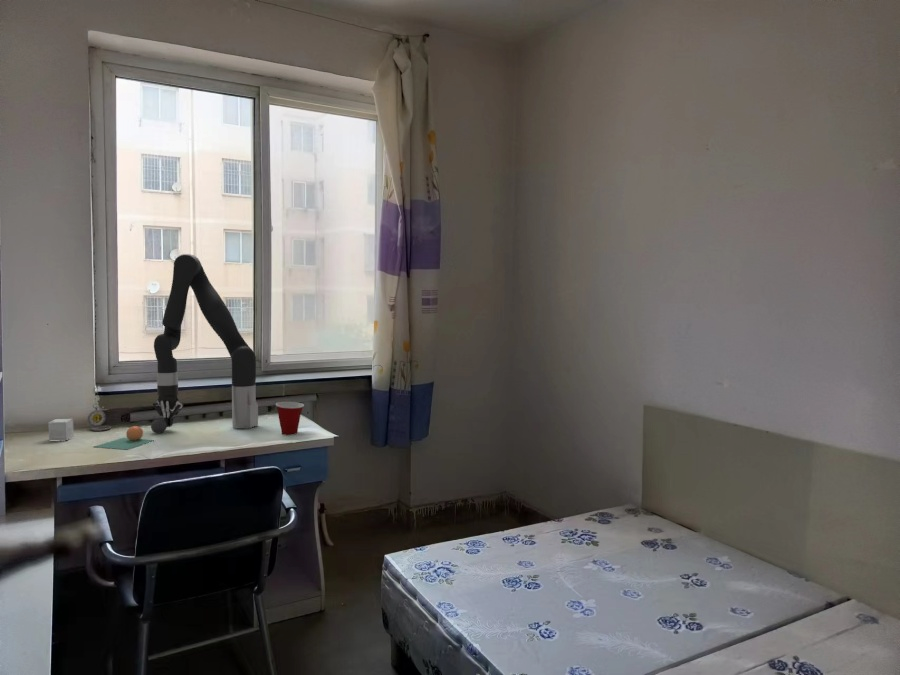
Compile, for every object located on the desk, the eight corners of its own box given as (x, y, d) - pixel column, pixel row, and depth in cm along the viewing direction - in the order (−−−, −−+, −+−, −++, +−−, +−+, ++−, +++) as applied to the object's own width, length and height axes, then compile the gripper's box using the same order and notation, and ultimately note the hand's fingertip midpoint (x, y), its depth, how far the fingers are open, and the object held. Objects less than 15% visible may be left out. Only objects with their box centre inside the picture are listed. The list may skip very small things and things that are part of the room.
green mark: (155, 440, 223) (155, 440, 223) (127, 449, 209) (127, 449, 209) (123, 438, 226) (123, 437, 226) (93, 447, 213) (93, 446, 213)
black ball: (163, 418, 233) (158, 431, 230) (171, 422, 237) (166, 435, 235) (150, 416, 234) (145, 430, 232) (159, 421, 239) (154, 434, 236)
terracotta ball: (138, 424, 220) (133, 439, 218) (148, 428, 225) (143, 443, 223) (125, 423, 221) (120, 438, 219) (135, 428, 226) (130, 442, 224)
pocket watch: (104, 431, 236) (103, 406, 236) (83, 431, 236) (82, 406, 236) (116, 427, 244) (115, 403, 244) (96, 427, 245) (95, 402, 244)
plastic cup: (299, 437, 231) (299, 406, 230) (271, 436, 231) (271, 405, 231) (307, 430, 242) (307, 401, 241) (281, 430, 242) (281, 400, 241)
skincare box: (74, 437, 226) (73, 418, 226) (66, 441, 220) (65, 421, 220) (56, 438, 225) (55, 418, 225) (48, 442, 219) (47, 422, 219)
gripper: (188, 382, 241) (189, 425, 242) (160, 381, 244) (160, 423, 245) (175, 385, 234) (176, 429, 235) (146, 384, 237) (147, 427, 238)
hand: (168, 426), depth 240 cm, fingers closed
